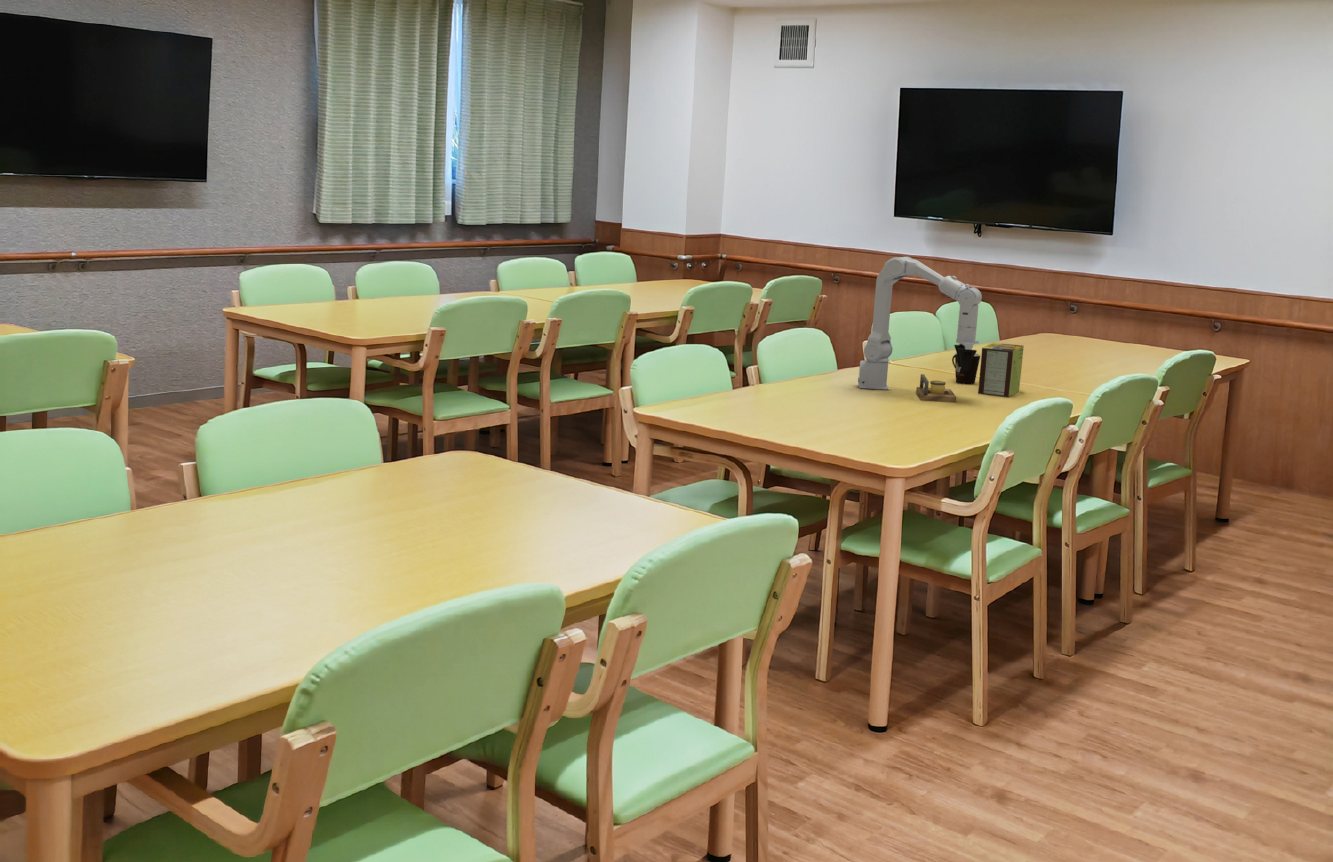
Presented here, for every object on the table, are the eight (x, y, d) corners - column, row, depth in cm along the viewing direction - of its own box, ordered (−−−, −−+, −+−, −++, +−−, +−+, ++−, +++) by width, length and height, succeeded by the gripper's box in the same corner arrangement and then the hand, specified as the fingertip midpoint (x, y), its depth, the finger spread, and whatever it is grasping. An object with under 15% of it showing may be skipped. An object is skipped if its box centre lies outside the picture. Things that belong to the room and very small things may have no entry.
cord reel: (930, 398, 385) (931, 382, 384) (927, 395, 390) (929, 380, 389) (945, 399, 385) (947, 383, 384) (942, 396, 390) (944, 381, 389)
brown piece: (920, 400, 381) (922, 381, 380) (916, 391, 396) (917, 373, 394) (956, 402, 380) (957, 383, 379) (950, 393, 395) (951, 375, 393)
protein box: (1019, 390, 406) (1024, 345, 403) (1009, 397, 393) (1013, 350, 389) (988, 387, 411) (992, 342, 407) (977, 393, 397) (981, 347, 394)
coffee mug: (980, 385, 413) (983, 356, 411) (955, 384, 413) (957, 355, 411) (972, 379, 425) (975, 351, 423) (948, 378, 425) (950, 350, 423)
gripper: (983, 330, 372) (979, 373, 375) (976, 324, 386) (972, 366, 389) (960, 328, 373) (956, 372, 376) (954, 323, 387) (950, 365, 390)
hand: (963, 369), depth 383 cm, fingers open, 7 cm apart
